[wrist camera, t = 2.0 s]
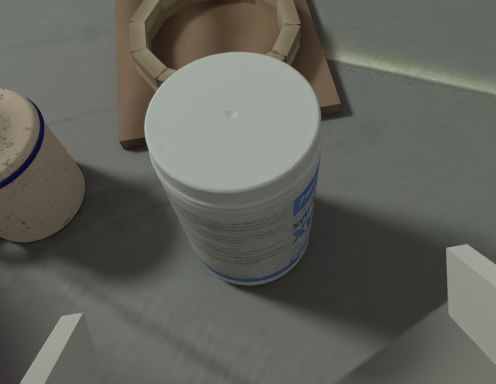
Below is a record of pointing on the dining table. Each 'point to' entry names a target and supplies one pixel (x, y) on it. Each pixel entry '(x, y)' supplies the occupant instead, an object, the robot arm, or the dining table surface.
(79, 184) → the teacup with lid
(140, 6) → the ring holder
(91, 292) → the dining table surface
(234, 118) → the supplement tub
